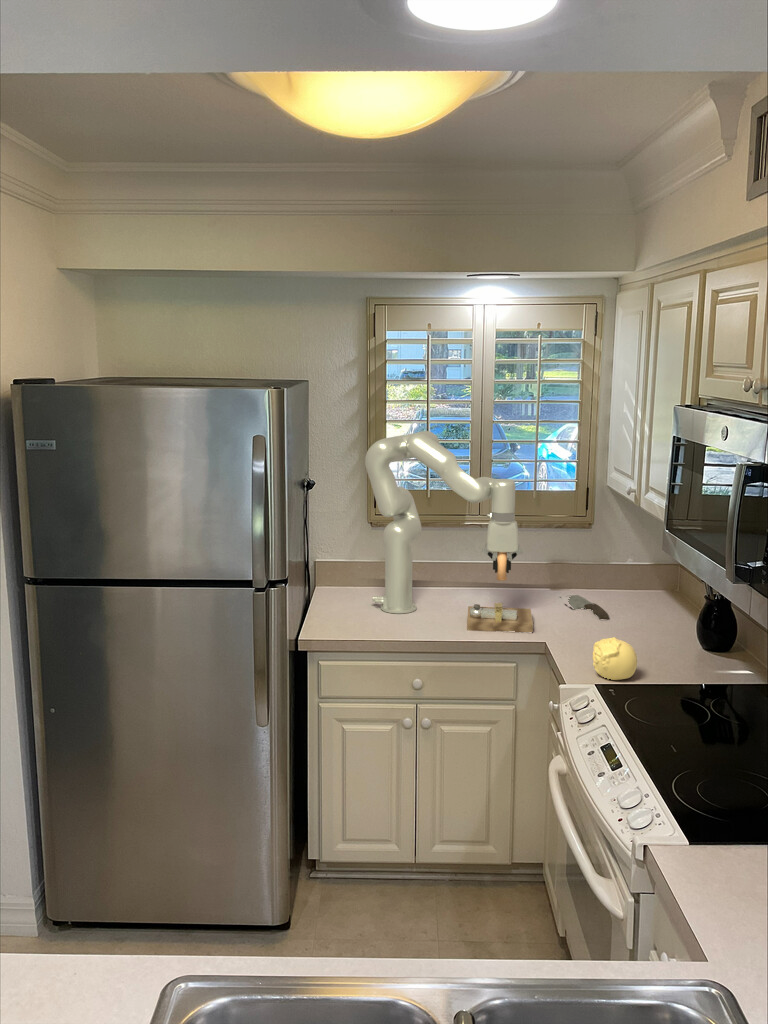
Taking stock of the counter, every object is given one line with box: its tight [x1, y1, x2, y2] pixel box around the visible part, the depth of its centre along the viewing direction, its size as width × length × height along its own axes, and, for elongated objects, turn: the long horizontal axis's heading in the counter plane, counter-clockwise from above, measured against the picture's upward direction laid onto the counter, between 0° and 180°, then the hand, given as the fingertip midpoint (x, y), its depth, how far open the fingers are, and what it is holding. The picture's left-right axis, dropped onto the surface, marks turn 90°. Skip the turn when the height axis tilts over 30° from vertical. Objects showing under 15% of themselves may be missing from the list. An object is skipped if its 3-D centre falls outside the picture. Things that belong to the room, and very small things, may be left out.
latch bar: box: [470, 607, 517, 620], centre depth 273 cm, size 15×4×2 cm, turn 78°
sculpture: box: [592, 636, 638, 681], centre depth 231 cm, size 11×12×11 cm
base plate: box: [466, 603, 534, 633], centre depth 277 cm, size 21×17×7 cm
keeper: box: [494, 602, 503, 622], centre depth 272 cm, size 2×7×4 cm, turn 173°
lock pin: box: [496, 552, 508, 582], centre depth 275 cm, size 3×3×10 cm
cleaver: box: [568, 594, 610, 620], centre depth 295 cm, size 30×10×2 cm, turn 12°
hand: (501, 571), depth 275 cm, fingers closed on lock pin, 3 cm apart
